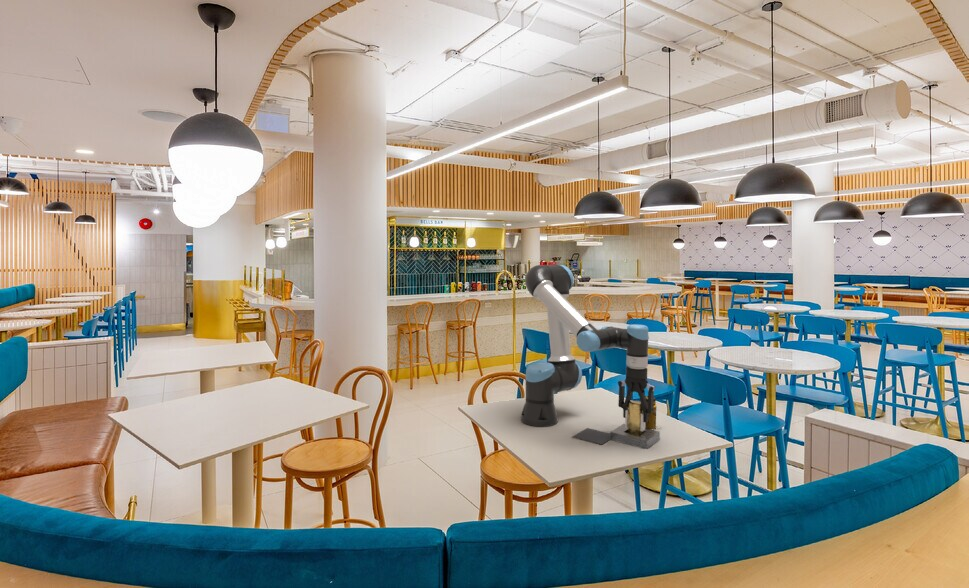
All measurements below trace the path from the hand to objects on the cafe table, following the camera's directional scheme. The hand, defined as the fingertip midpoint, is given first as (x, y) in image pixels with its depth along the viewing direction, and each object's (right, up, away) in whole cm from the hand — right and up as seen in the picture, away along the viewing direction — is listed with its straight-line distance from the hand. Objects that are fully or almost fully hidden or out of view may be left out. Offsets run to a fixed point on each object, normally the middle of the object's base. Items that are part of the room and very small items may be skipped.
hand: (635, 428), depth 184 cm
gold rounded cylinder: (0, -4, 0) cm, 4 cm away
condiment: (+9, -4, +14) cm, 17 cm away
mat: (-14, -4, +3) cm, 15 cm away
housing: (0, -4, 0) cm, 4 cm away
